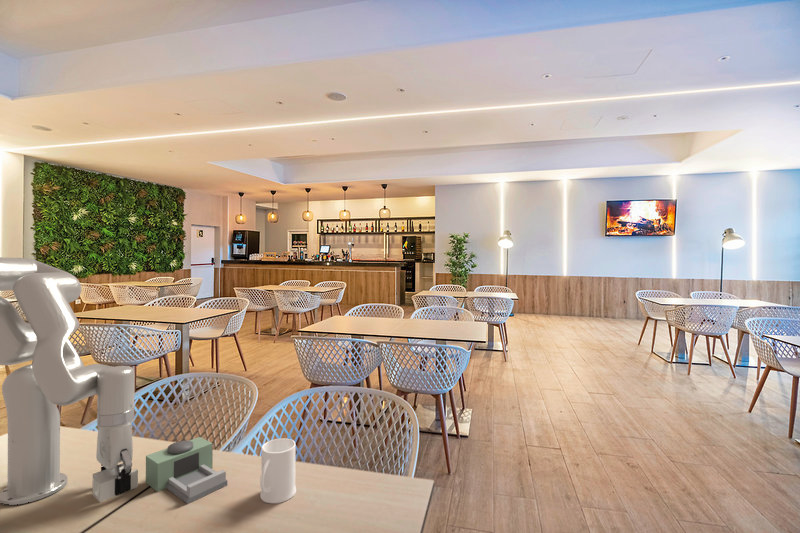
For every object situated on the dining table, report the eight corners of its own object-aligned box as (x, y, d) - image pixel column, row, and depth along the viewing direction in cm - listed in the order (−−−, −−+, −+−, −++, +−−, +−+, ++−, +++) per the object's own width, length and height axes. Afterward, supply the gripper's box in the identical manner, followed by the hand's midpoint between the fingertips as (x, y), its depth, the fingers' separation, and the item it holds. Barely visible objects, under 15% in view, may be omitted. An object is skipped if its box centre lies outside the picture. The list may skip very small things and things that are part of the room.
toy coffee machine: (145, 482, 101) (145, 451, 101) (199, 460, 113) (199, 433, 113) (178, 508, 91) (179, 474, 91) (234, 481, 102) (234, 451, 102)
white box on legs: (99, 502, 93) (99, 480, 93) (92, 495, 96) (92, 473, 96) (137, 487, 99) (137, 466, 99) (129, 480, 102) (130, 460, 102)
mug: (273, 515, 88) (274, 462, 88) (243, 507, 91) (243, 456, 91) (302, 487, 100) (303, 440, 100) (274, 481, 102) (274, 435, 102)
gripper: (85, 413, 100) (85, 481, 100) (111, 431, 89) (110, 506, 89) (120, 405, 106) (119, 469, 106) (147, 420, 95) (147, 491, 95)
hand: (115, 486), depth 98 cm, fingers open, 8 cm apart
